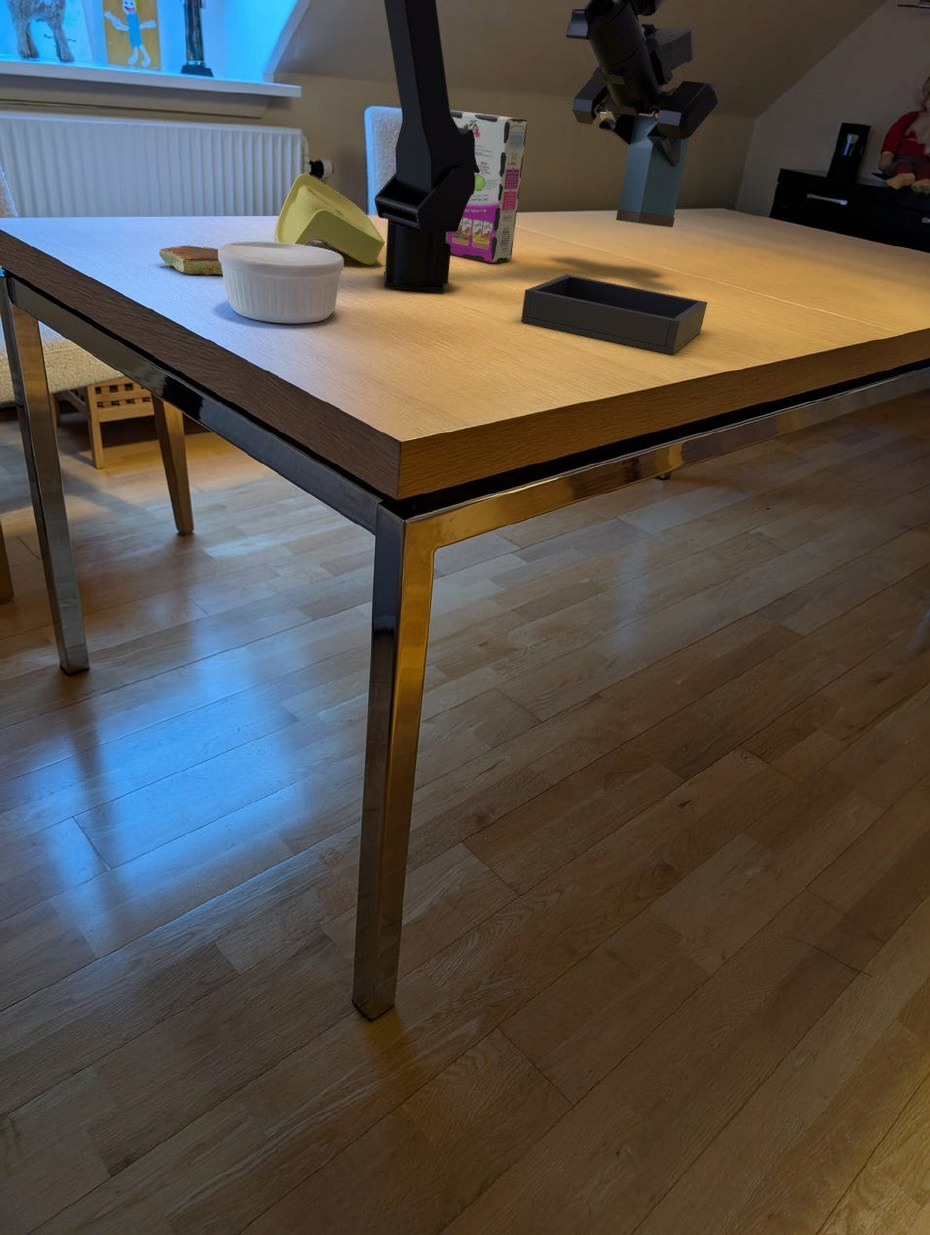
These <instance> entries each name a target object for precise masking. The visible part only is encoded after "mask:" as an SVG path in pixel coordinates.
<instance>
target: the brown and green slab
mask: <svg viewBox="0 0 930 1235" xmlns="http://www.w3.org/2000/svg"><path fill="white" fill-rule="evenodd" d="M218 249H219V248H213V247H209V246H203V247H202V246H194V245H179V246H172V247H165V248H161V249H160V250H159V251H158V255H159V257H160V258H161V259H162V261H163V262H164V265H165V266H167V267H171V266H172V267H174V268H175V269H176V271H179V272H180V273H185V274H186V275H205V276H206V275H208V276H209V275H222V276H223V272H222V266H221V263H220V261H219V259H218Z"/></svg>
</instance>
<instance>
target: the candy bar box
mask: <svg viewBox="0 0 930 1235" xmlns="http://www.w3.org/2000/svg"><path fill="white" fill-rule="evenodd" d="M450 112H451V115H452V117H453V119H454V121H455V123H456V125H457V126H458V127H460V128H465V129H470V130H472V131H473V134H474V138H475V158H476V163H477V165H478V168H479V170H480V172H479V173H475V191H474V194H473V195H471V197H470V199H469V201H468V203H467V205H466V208H465V211H464V214H463V216H462V219H461V222H460V225H459V227H458V230H457V231H456V232H447V235H446V240H448V241H449V242H450V244H451V253H450V255H452V256H457V257H462V258H468V259H472V260H476V261H482V262H485V263H491V264H495V263H503V262H508V261H511V260H512V256H513V247H514V241H515V240H514V239H515V231H516V222H517V213H518V212H517V211H518V207H519V206H518V205H519V196H520V186H521V179H522V170H523V162H524V154H525V153H524V152H525V145H526V136H527V130H528V129H527V128H528V127H527V126H528V120H527V119H524V118H518V117H512V116H511V117H510V116H503V115H495V114H487V113H478V112H470V111H460V110H452V109H450Z"/></svg>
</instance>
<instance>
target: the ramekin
mask: <svg viewBox="0 0 930 1235" xmlns="http://www.w3.org/2000/svg"><path fill="white" fill-rule="evenodd" d="M217 249H218V259H219V261H220V263H221V266H222V272H223V275H222V277H223V282H224V287H225V288H224V289H225V294H226V296H227V297H226V298H227V301H228V305H229V306H230V307H231V308H232V310H233V311H234V312H235V313H236V314H238V315H240V316H242V317H245V318H248V319H251V320H255V321H261V322H269V323H276V324H308V323H309V324H310V323H317V322H320V321H324V320H326V319H327V318H329V317H330V316H331V314H332V313H333V312H334V311H335V308H336V306H337V299H338V298H337V297H338V293H339V286H340V279H341V273H342V271H343V270H344V268H345V261H344V257H343V255H341V254H340V253H338V252H336V251H333V250H330V249H326V248H324V247H323V248H322V247H317V246H311V245H307V244H306V245H299V244H290V243H279V242H275V241H252V240H251V241H236V242H229V243H225V244H223V245H220V246H219V247H218V248H217Z"/></svg>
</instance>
